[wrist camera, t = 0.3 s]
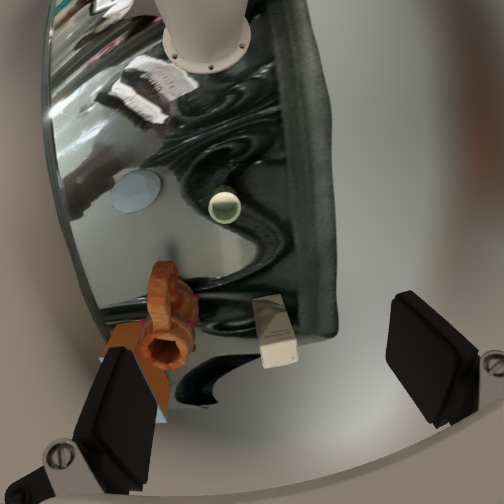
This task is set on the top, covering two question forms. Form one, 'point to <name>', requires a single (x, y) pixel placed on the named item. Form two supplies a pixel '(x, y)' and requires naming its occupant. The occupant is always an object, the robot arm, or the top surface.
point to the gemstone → (135, 191)
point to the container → (142, 364)
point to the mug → (169, 318)
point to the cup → (224, 205)
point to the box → (274, 332)
